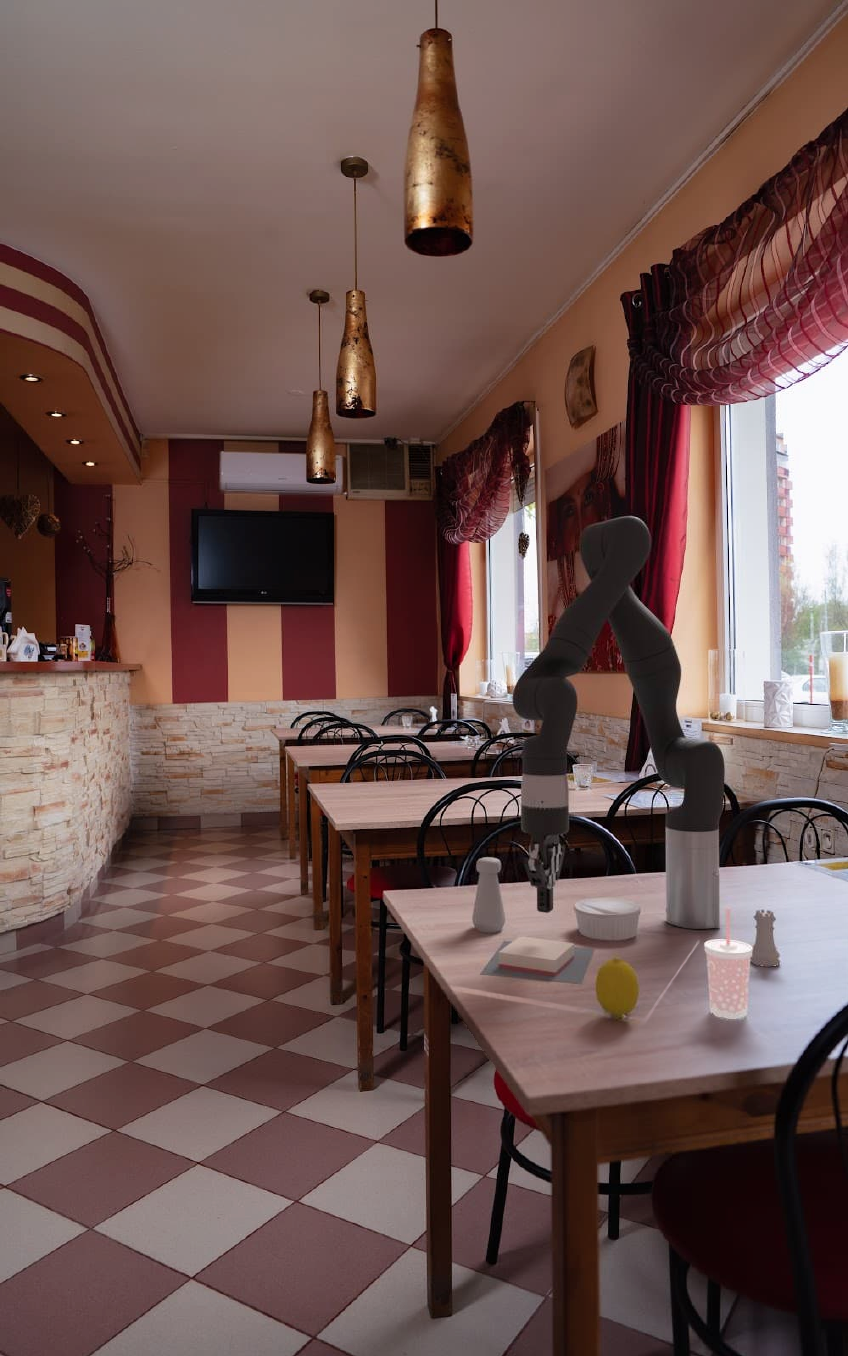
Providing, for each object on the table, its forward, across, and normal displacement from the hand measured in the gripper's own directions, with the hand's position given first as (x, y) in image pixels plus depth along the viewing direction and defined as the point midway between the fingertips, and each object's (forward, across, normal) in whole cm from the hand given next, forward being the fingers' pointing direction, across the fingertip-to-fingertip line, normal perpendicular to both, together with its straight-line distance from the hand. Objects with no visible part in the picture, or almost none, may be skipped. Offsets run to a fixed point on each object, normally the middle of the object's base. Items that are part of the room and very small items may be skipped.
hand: (545, 910), depth 141 cm
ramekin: (+8, +17, -5) cm, 19 cm away
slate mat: (+8, -3, 0) cm, 8 cm away
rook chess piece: (+8, +13, -31) cm, 35 cm away
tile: (+6, 0, 0) cm, 6 cm away
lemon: (+8, -19, -17) cm, 26 cm away
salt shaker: (+8, +9, +14) cm, 18 cm away
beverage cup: (+8, -10, -29) cm, 32 cm away
